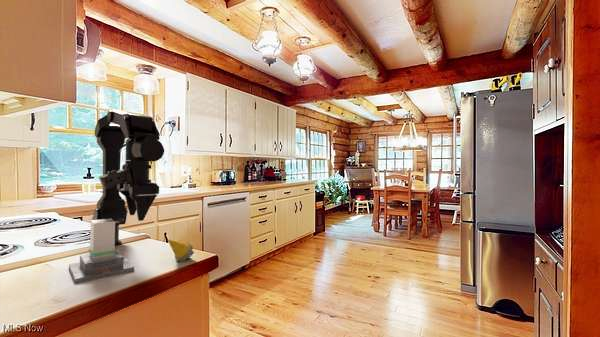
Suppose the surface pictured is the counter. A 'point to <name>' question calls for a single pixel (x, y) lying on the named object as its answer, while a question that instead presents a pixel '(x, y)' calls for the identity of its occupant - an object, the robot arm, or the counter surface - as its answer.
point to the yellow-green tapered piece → (181, 250)
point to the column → (102, 238)
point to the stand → (99, 267)
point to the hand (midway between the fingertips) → (136, 217)
